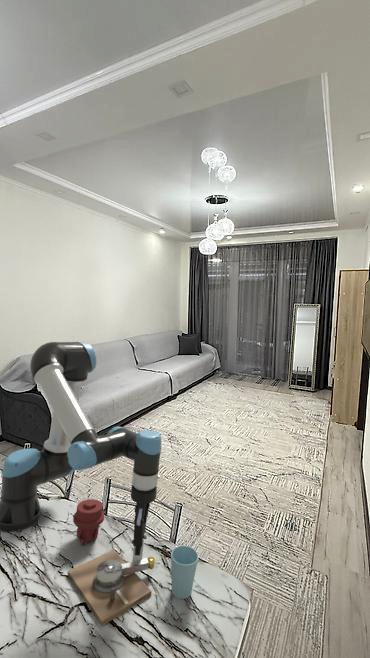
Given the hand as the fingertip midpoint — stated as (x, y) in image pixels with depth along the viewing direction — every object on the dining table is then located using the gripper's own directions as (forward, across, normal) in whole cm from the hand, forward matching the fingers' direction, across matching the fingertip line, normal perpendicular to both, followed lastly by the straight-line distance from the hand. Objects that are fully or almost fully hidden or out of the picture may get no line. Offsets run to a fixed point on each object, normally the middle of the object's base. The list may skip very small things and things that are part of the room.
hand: (137, 562), depth 98 cm
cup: (+3, -5, -14) cm, 15 cm away
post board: (+3, -6, +7) cm, 9 cm away
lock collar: (+1, -4, +2) cm, 4 cm away
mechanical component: (+3, +12, +19) cm, 22 cm away
